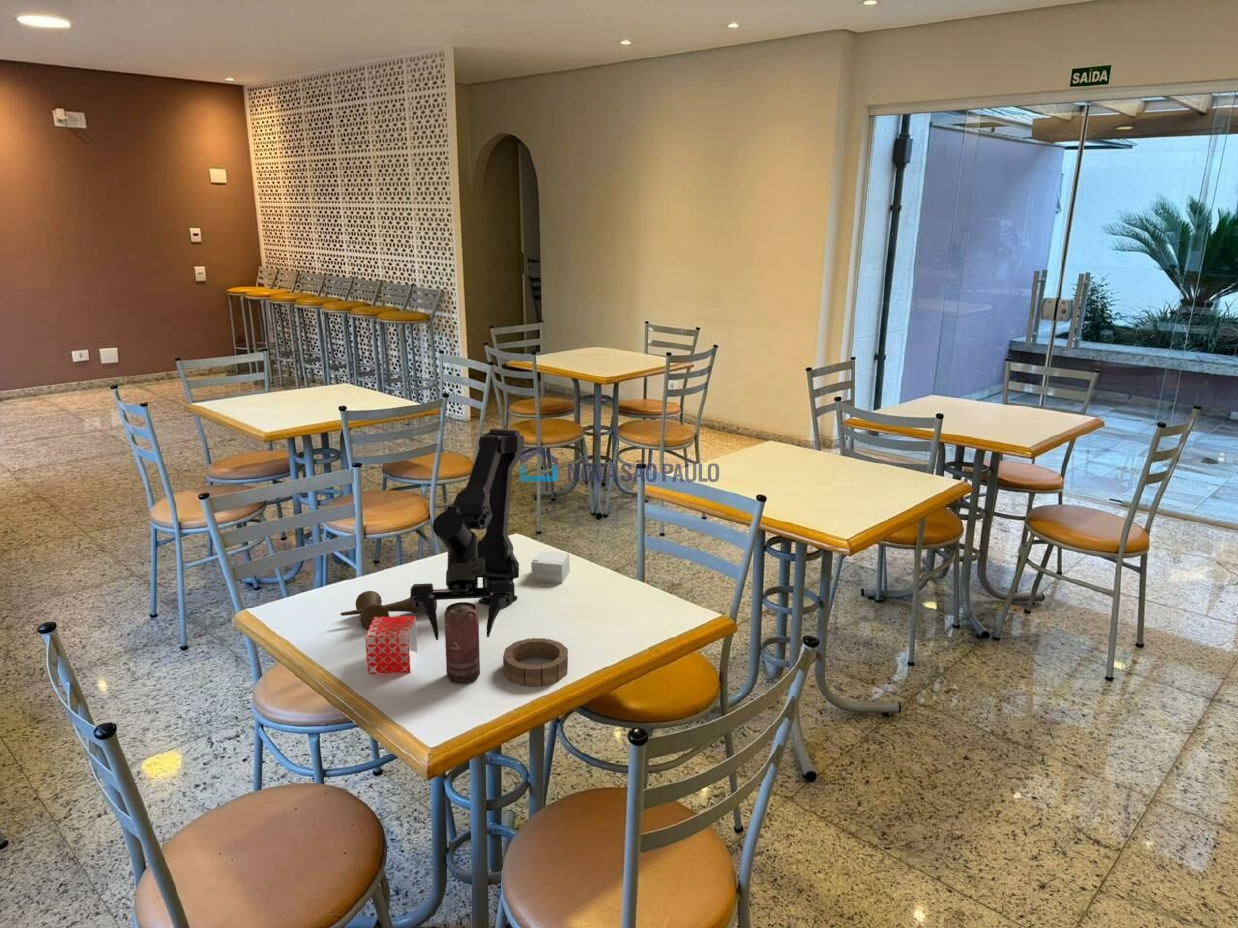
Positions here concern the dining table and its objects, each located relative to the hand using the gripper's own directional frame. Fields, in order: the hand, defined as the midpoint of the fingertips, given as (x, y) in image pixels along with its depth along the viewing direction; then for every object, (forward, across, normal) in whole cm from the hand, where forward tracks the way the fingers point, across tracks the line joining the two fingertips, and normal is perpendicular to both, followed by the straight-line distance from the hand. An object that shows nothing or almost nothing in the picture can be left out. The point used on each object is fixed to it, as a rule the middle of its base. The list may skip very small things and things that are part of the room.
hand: (462, 637), depth 150 cm
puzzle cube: (+1, -14, +11) cm, 18 cm away
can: (+6, 0, +6) cm, 9 cm away
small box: (-27, +20, +39) cm, 51 cm away
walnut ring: (+5, +14, +7) cm, 16 cm away
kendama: (-13, -16, +25) cm, 33 cm away
